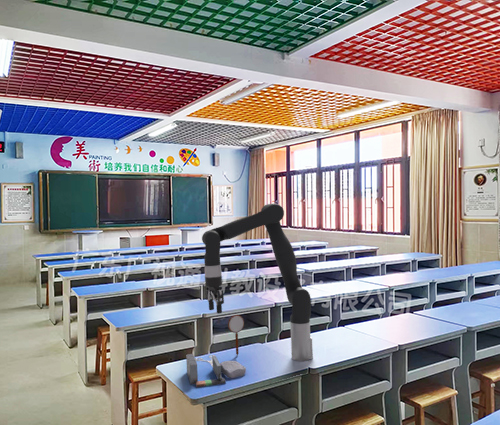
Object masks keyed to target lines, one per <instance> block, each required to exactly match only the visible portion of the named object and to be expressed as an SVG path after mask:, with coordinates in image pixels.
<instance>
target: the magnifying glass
mask: <svg viewBox="0 0 500 425" xmlns="http://www.w3.org/2000/svg"><path fill="white" fill-rule="evenodd" d="M227 327H228V330H229V331H230V332H231V333H233V334H235V355H236V356H237V357H238V356H239V334H238V333H240V332H241V331H242V330H243V329H244V327H245V320H244V318H243V317H242V316H241V315H238V314H233V316H231V317H230V318H229V320H228V322H227Z"/></svg>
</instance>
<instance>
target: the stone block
mask: <svg viewBox="0 0 500 425" xmlns="http://www.w3.org/2000/svg"><path fill="white" fill-rule="evenodd" d="M219 363H220V365H221V374H223V375H224V376H225V378H228V379H235V378H237V377H243V376H245V374H246V372H247V367H245V366H244V365H242V364H241V363H240V362H238V361H236V360H225V361H222V362H219Z"/></svg>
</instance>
